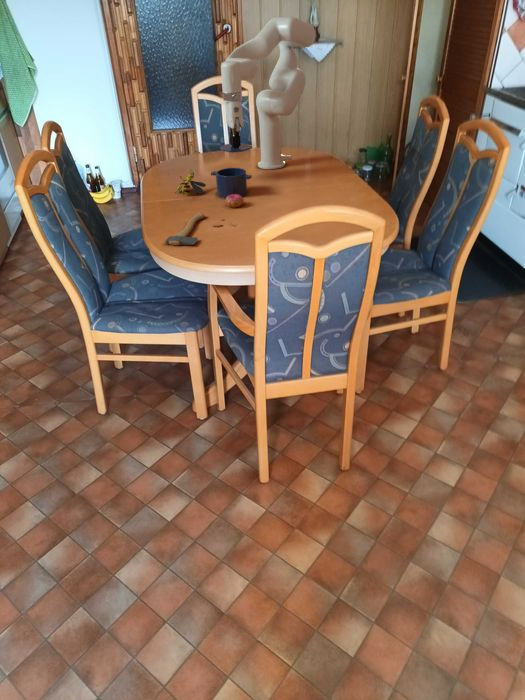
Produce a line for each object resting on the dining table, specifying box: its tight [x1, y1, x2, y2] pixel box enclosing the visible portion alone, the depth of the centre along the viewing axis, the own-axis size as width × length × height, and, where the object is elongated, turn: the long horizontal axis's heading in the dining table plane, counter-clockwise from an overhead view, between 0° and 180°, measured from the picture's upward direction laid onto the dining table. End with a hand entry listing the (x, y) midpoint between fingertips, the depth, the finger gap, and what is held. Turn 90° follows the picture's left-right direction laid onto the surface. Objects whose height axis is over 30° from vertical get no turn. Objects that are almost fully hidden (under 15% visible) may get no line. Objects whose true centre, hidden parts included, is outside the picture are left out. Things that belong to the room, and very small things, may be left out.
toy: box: [174, 169, 207, 196], centre depth 211 cm, size 12×8×15 cm
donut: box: [224, 194, 245, 209], centre depth 200 cm, size 7×7×4 cm
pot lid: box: [219, 134, 252, 153], centre depth 218 cm, size 13×13×6 cm
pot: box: [210, 167, 253, 199], centre depth 210 cm, size 12×17×8 cm
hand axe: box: [165, 212, 205, 246], centre depth 182 cm, size 27×2×10 cm
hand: (235, 145), depth 219 cm, fingers closed on pot lid, 3 cm apart
